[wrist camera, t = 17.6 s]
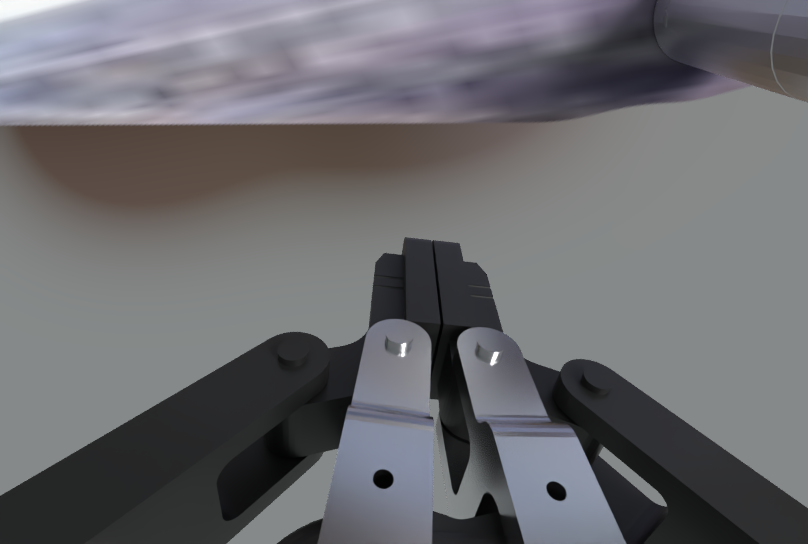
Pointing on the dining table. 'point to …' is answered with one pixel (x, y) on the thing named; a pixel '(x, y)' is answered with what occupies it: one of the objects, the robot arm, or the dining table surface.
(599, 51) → the dining table surface
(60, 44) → the dining table surface
